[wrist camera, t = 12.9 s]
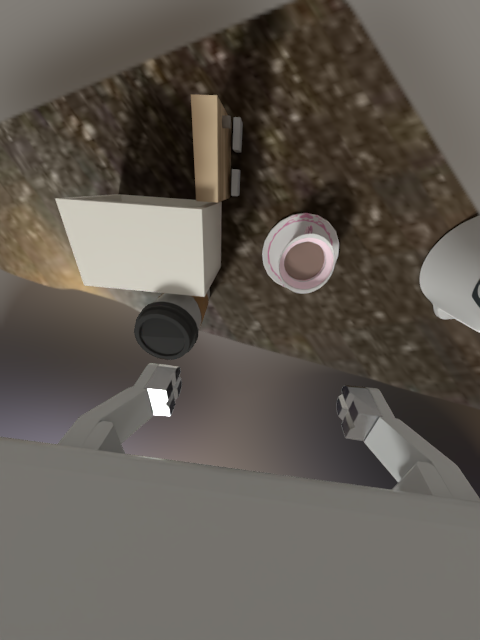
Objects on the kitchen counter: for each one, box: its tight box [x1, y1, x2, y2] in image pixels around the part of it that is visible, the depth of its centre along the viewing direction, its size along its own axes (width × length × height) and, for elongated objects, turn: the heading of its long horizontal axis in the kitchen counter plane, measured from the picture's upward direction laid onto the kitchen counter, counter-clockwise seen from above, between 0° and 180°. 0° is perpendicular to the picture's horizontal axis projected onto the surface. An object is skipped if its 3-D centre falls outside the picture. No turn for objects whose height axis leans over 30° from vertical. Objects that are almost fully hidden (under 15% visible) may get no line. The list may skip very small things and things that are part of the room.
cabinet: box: [56, 117, 243, 297], centre depth 29 cm, size 19×19×12 cm
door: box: [191, 95, 232, 203], centre depth 26 cm, size 3×8×10 cm, turn 177°
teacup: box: [262, 213, 339, 293], centre depth 33 cm, size 12×12×6 cm
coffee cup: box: [134, 290, 210, 360], centre depth 35 cm, size 8×8×15 cm
